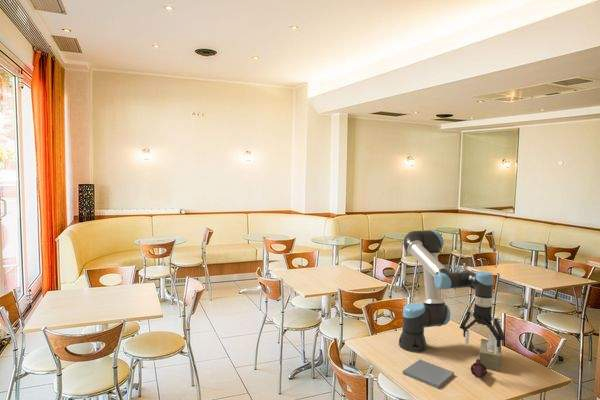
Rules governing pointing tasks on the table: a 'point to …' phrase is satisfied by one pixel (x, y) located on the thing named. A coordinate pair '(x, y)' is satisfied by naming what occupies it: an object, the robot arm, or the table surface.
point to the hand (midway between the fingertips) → (481, 348)
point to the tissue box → (490, 354)
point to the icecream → (478, 369)
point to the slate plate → (428, 373)
